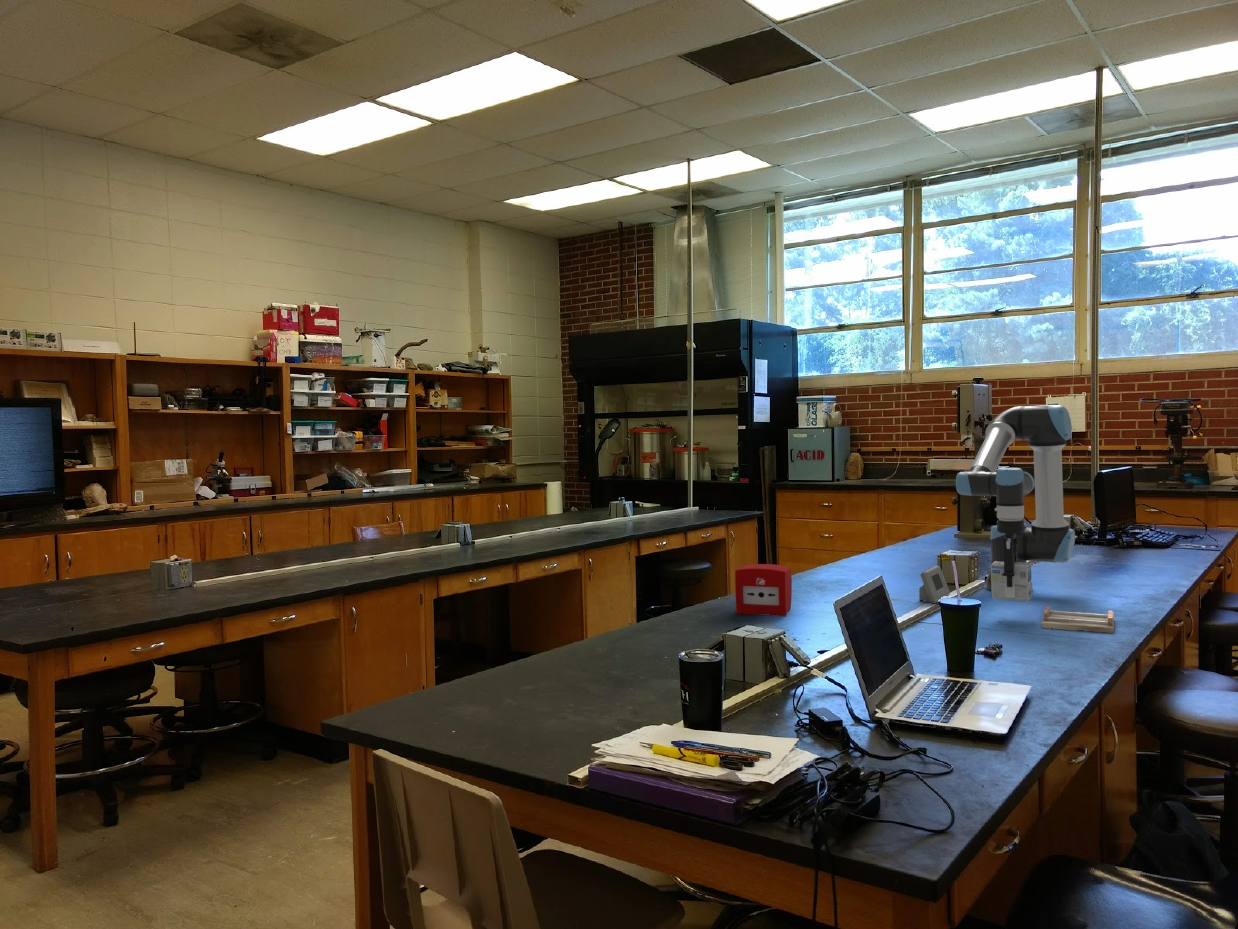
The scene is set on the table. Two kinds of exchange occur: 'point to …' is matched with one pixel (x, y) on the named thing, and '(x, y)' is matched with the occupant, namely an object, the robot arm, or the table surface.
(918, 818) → the table surface
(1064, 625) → the mounting board
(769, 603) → the fire alarm
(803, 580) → the table surface
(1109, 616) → the rectangular frame
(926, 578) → the digital clock
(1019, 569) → the light bulb box
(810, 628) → the table surface
